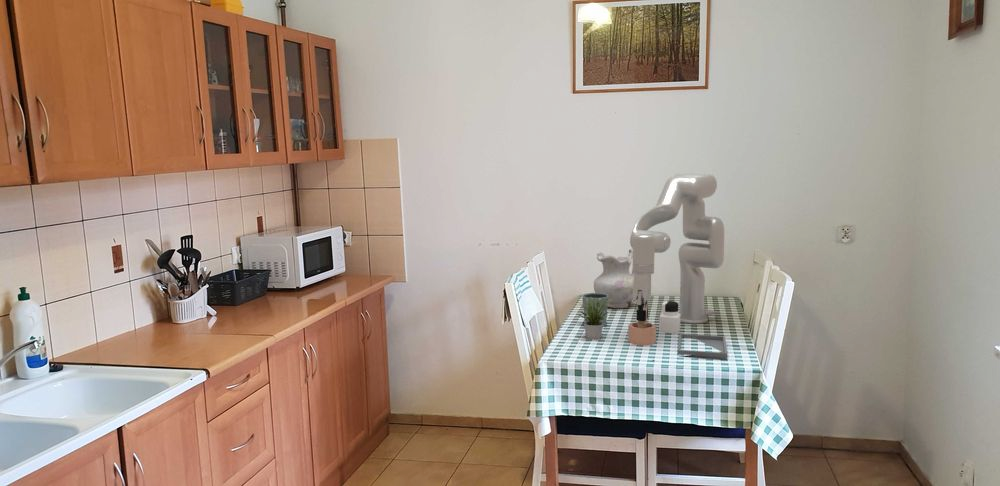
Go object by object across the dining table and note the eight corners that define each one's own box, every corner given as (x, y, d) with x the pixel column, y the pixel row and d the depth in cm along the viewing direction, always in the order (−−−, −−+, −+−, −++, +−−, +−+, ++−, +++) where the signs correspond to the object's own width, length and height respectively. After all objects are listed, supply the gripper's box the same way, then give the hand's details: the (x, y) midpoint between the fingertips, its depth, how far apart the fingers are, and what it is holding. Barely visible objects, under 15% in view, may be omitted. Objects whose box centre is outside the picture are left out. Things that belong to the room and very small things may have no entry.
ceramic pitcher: (616, 300, 336) (613, 247, 334) (651, 304, 321) (648, 248, 319) (586, 308, 321) (582, 252, 319) (621, 312, 307) (618, 254, 305)
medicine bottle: (680, 331, 277) (680, 300, 275) (678, 336, 270) (679, 304, 268) (661, 329, 279) (661, 299, 277) (658, 334, 272) (659, 303, 271)
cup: (647, 340, 265) (647, 321, 264) (659, 346, 256) (659, 327, 255) (624, 342, 263) (625, 323, 262) (636, 348, 254) (636, 329, 253)
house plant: (624, 339, 266) (624, 296, 263) (601, 347, 256) (601, 302, 254) (593, 333, 275) (593, 290, 273) (570, 340, 266) (570, 296, 264)
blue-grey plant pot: (610, 327, 283) (610, 297, 282) (584, 328, 282) (585, 298, 281) (604, 321, 293) (604, 292, 292) (579, 322, 292) (580, 292, 291)
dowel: (644, 340, 261) (644, 303, 259) (648, 342, 258) (648, 305, 256) (635, 340, 260) (636, 304, 259) (639, 343, 257) (640, 305, 256)
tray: (679, 339, 265) (679, 333, 265) (725, 342, 261) (725, 336, 261) (677, 356, 244) (677, 350, 244) (727, 360, 240) (727, 353, 240)
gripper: (637, 264, 265) (636, 313, 267) (627, 272, 250) (626, 324, 252) (658, 265, 262) (657, 315, 264) (649, 273, 247) (648, 326, 249)
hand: (642, 319), depth 258 cm, fingers closed on dowel, 3 cm apart
